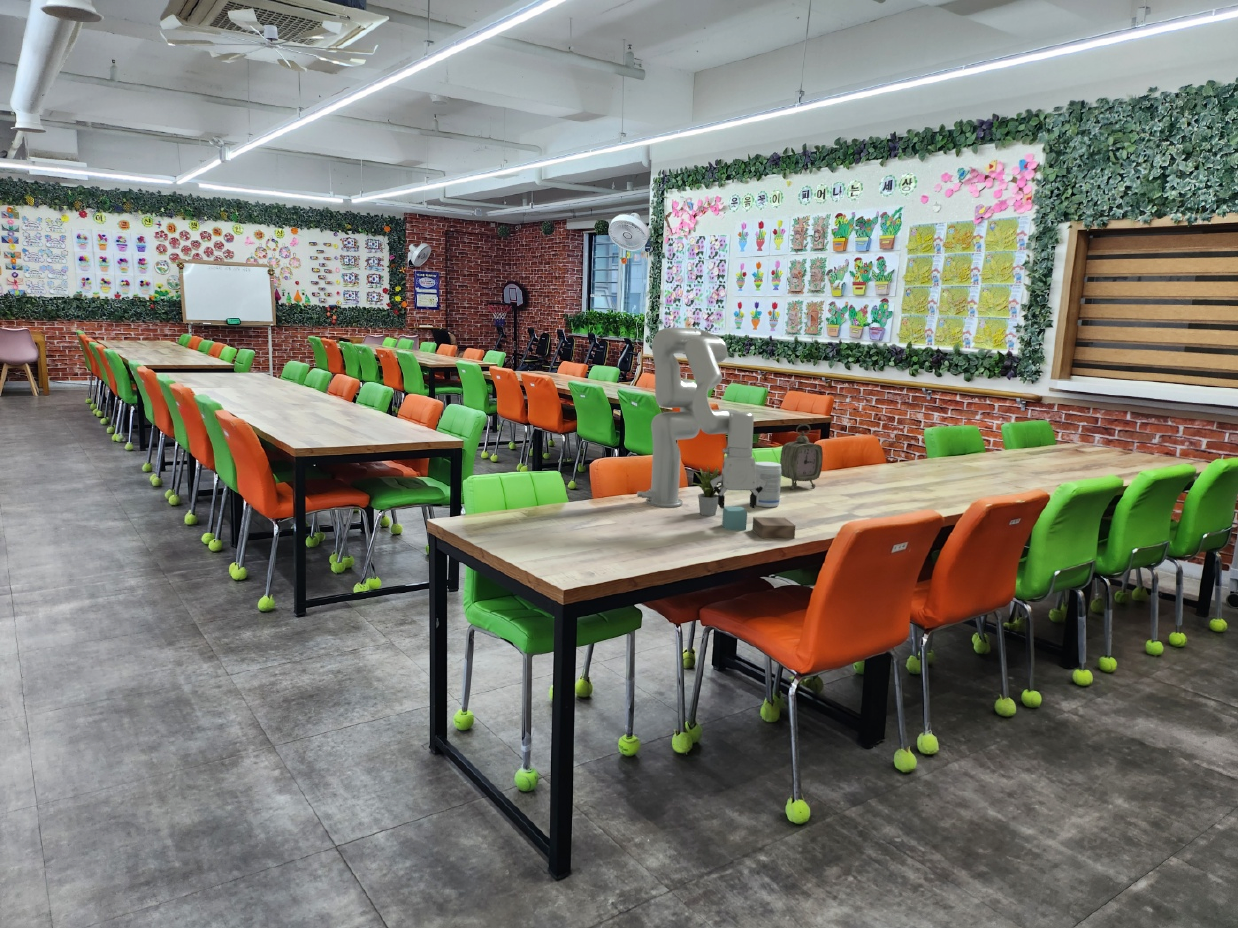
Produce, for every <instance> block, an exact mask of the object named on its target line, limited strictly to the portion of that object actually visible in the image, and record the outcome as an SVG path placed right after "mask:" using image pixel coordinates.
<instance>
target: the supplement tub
mask: <svg viewBox="0 0 1238 928" xmlns="http://www.w3.org/2000/svg"><path fill="white" fill-rule="evenodd" d="M755 466H756V476H757V477H759V478H761V479H762V480H764V481H766V484H765V485H764V487H763V489H762V491H761V492H760V493H759V494H758V495H757V500H756V505H755V507H756V506H757V507H760V508H761V507H763V508H775V507H778V506H779V505H780V497H781V484H782V483H781V481H782V474H781V464H780V462H773V461H755ZM759 484H760V483H759V482H758V481H756V488H757V487H758V486H759ZM756 488H755V489H756Z"/></svg>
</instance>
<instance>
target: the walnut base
mask: <svg viewBox="0 0 1238 928" xmlns="http://www.w3.org/2000/svg"><path fill="white" fill-rule="evenodd" d="M751 530H752V531H753V532H754V533H755V534H756V535H757V536H759V537H760V538H761V539H765V538H794V539H795V536H796V525H795V524H794V523H793V522H791V521H790V520H788V519H787V518H786V517H777V516H776V517H774V516H773V517H770V516H768V517H765V516H764V517H763V516H760V517H758V516H755V517H752V529H751Z"/></svg>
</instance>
